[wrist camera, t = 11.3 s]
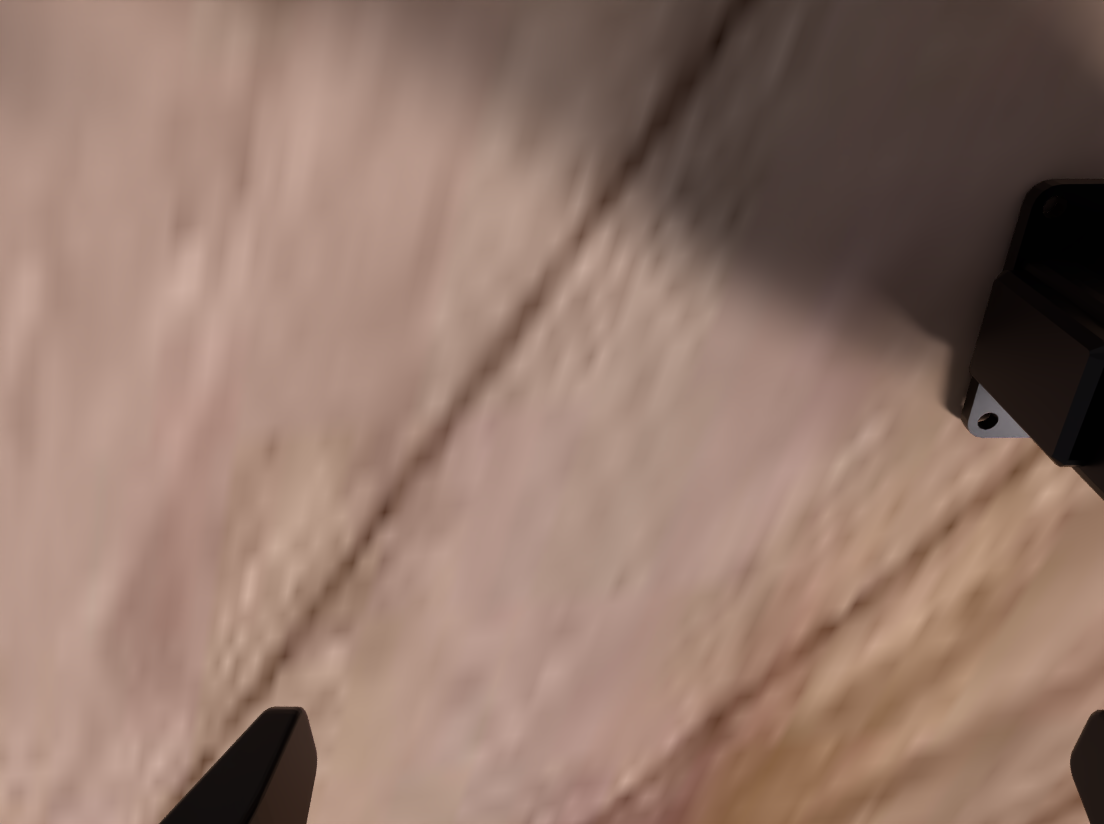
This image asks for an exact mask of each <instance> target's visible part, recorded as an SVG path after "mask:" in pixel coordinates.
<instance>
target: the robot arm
mask: <svg viewBox="0 0 1104 824" xmlns="http://www.w3.org/2000/svg"><path fill="white" fill-rule="evenodd" d="M1054 196H1057V203H1056V205H1055V207H1054V208H1053V209H1051V210H1050V211H1049V212H1046V213H1043V206H1044V204H1045V203H1046V201H1047V200H1049V199H1050V198H1051V197H1054ZM969 372H970V373H971V374H972V379H971V382H970V386H969V389H968V393H967V396H966V400H965V403H964V406H963V410H962V413H961V420H962V422H963V424H964V426H965V427H966V428H967V429H968V431H969V432H970V433H971V434H973V435H974V436H976V437H981V438H1031V439H1032V440H1033V441H1034V442H1035V443H1036V444H1037V445H1038V446H1039V447H1040V448H1041V449H1042V450H1043V451H1044V453H1045V454H1046V455H1047V456H1048V457H1049V458H1050V459H1051V460H1052V461H1053V462H1054V463H1055V464H1056V465H1058V466H1060V467H1072V468H1073V469H1074V470H1075V471H1076V472H1077V473H1078V474H1079V475H1080V477H1081V478H1082V479H1083V480H1084V481H1085V482H1086V483H1087V484H1088V485H1089V486H1090V487H1091V488H1092V489H1093V490H1094V491H1095V492H1096V493H1097V494H1098V495H1099V496H1100V497H1101V498H1102V499H1103V500H1104V179H1052V180H1047V181H1043V182H1041V183H1039V184H1037V185H1035V186H1034V187H1033V188H1032V189H1031V190H1030V191H1029V192H1028V193H1027V195H1026V197H1025V199H1024V201H1023V203H1022V207H1021V210H1020V214H1019V217H1018V221H1017V224H1016V227H1015V231H1014V234H1013V238H1012V241H1011V245H1010V248H1009V252H1008V255H1007V258H1006V262H1005V265H1004V269H1003V272H1002V273H1001V274H1000V275H999V276H998V277H997V278H996V279H995V281H994V284H993V287H992V291H991V294H990V298H989V301H988V305H987V308H986V312H985V315H984V318H983V322H982V325H981V329H980V332H979V336H978V339H977V343H976V346H975V350H974V353H973V357H972V360H971V364H970V367H969ZM986 413H991V414H990V416H989V417H988V418H987V419H985V420H984V421H980V422H978V420H979V418H980V417H981V416H982V415H984V414H986ZM1070 767H1071V773H1072V776H1073V780H1074V782H1075V785H1076V787H1077V790H1078V793H1079V795H1080V798H1081V800H1082V803H1083V806H1084V808H1085V811H1086V813H1087V816H1088V819H1089V821H1090V824H1104V710H1097V711H1095V712H1094V713H1092V714H1091V716H1090V717H1089V719H1088V721H1087V723H1086V725H1085V727H1084V729H1083V731H1082V733H1081V735H1080V737H1079V739H1078V741H1077V743H1076V745H1075V747H1074V749H1073V751H1072V753H1071V759H1070ZM316 769H317V752H316V747H315V743H314V739H313V736H312V732H311V728H310V724H309V720H308V716H307V714H306V711H305V710H304V709H303V708H302V707H271V708H268V709H267V710H265V711H264V712H263V713H262V714H261V715H260V716H259V717H258V718H257V719H256V720H255V721H254V722H253V723H252V724H251V725H250V727H249V728H248V729H247V730H246V731H245V732H244V733H243V734H242V735H241V736H240V737H239V738H238V739H237V740H236V742H235V743H234V744H233V745H232V746H231V747H230V748H229V749H228V750H227V751H226V752H225V753H224V754H223V756H222V757H221V758H220V759H219V760H218V761H217V762H216V763H215V764H214V765H213V766H212V767H211V768H210V769H209V771H208V772H207V773H206V774H205V775H204V776H203V777H202V778H201V779H200V780H199V781H198V782H197V783H196V784H195V786H194V787H193V788H192V789H191V790H190V791H189V792H188V793H187V794H186V795H185V796H184V797H183V798H182V800H181V801H180V802H179V803H178V804H177V805H176V806H175V807H174V808H173V809H172V810H171V811H170V812H169V813H168V815H167V816H166V817H165V818H164V819H163V820H162V821H161V822H160V823H159V824H306V823H307V818H308V812H309V807H310V802H311V797H312V791H313V786H314V781H315V776H316Z"/></svg>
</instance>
